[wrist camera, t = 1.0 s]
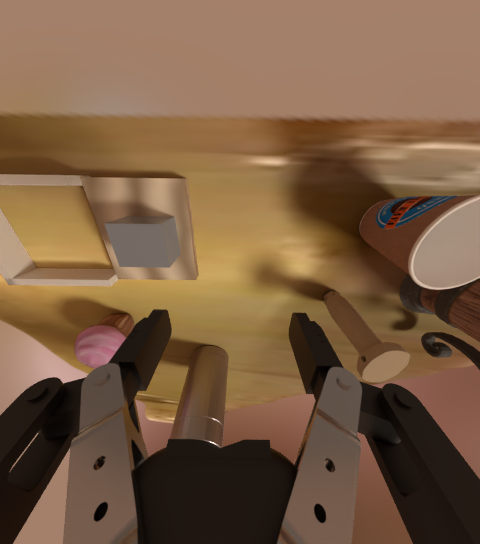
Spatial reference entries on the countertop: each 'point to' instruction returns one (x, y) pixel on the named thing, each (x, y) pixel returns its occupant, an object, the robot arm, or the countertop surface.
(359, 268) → the countertop surface
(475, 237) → the coffee cup
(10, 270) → the box
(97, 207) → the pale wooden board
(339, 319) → the handle
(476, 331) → the tankard
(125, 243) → the matte grey cube
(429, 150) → the countertop surface
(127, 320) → the cupcake
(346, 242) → the countertop surface
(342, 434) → the robot arm
